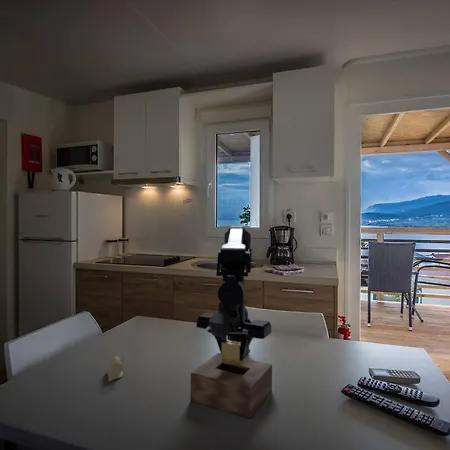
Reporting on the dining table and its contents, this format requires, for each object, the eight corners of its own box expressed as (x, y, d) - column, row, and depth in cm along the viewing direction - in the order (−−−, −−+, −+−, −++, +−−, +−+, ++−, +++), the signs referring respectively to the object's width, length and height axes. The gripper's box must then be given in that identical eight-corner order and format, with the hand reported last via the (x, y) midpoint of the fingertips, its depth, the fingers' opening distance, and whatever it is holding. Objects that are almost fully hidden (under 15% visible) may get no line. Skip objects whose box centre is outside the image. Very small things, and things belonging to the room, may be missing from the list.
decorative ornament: (121, 369, 100) (121, 351, 100) (124, 381, 92) (124, 362, 92) (107, 371, 98) (107, 353, 98) (108, 384, 91) (108, 364, 91)
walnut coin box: (190, 400, 82) (190, 372, 82) (218, 377, 95) (218, 352, 95) (250, 418, 75) (250, 387, 75) (271, 391, 87) (272, 364, 87)
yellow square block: (221, 362, 85) (221, 342, 85) (226, 358, 87) (226, 339, 87) (239, 366, 83) (239, 346, 82) (243, 362, 85) (243, 342, 85)
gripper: (184, 299, 82) (183, 362, 82) (255, 308, 73) (254, 379, 73) (207, 290, 92) (207, 347, 92) (272, 298, 83) (271, 361, 83)
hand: (232, 358), depth 85 cm, fingers closed on yellow square block, 5 cm apart
